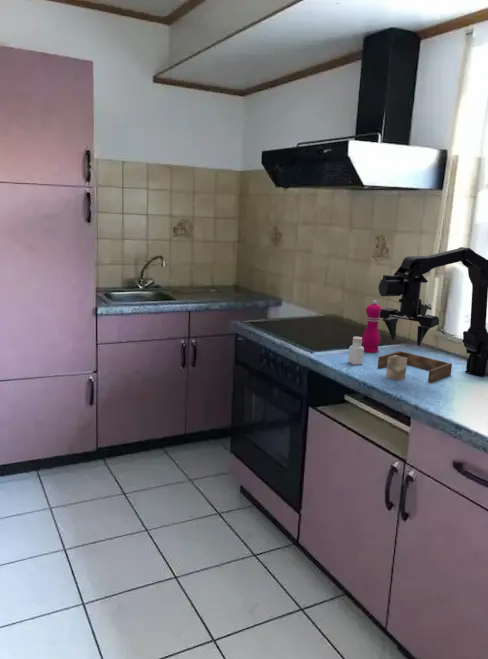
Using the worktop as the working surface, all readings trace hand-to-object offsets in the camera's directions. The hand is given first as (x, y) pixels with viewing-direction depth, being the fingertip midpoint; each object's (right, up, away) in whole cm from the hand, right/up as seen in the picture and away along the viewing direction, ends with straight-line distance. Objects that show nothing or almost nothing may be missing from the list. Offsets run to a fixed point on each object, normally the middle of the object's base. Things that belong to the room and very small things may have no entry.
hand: (405, 342), depth 183 cm
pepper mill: (-4, -4, +33) cm, 34 cm away
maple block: (-3, -12, 0) cm, 12 cm away
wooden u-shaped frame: (+5, -10, +9) cm, 14 cm away
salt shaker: (-14, -8, +15) cm, 22 cm away
